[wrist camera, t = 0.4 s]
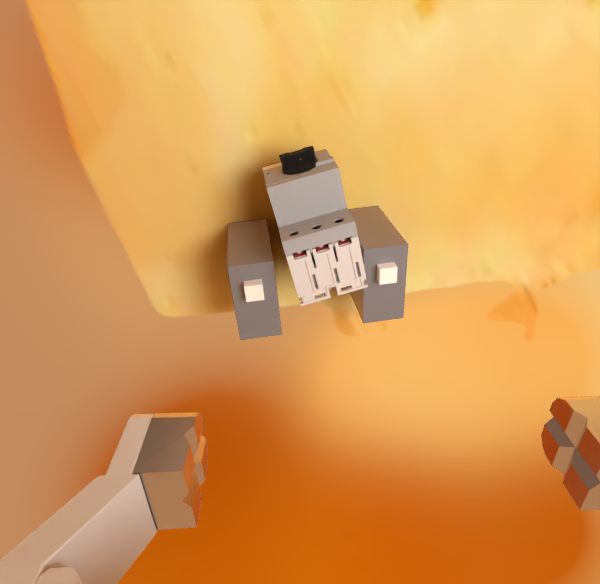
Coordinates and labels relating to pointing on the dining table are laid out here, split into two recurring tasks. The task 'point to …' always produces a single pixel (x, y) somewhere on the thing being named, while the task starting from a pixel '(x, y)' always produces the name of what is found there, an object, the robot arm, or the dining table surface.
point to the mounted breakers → (369, 301)
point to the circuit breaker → (315, 224)
